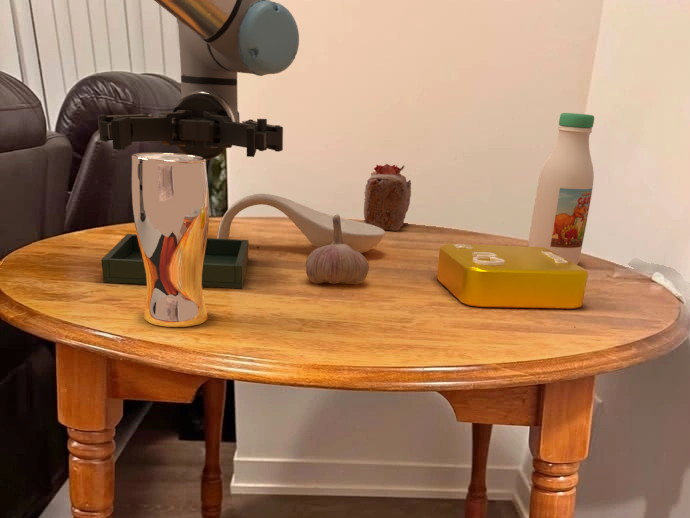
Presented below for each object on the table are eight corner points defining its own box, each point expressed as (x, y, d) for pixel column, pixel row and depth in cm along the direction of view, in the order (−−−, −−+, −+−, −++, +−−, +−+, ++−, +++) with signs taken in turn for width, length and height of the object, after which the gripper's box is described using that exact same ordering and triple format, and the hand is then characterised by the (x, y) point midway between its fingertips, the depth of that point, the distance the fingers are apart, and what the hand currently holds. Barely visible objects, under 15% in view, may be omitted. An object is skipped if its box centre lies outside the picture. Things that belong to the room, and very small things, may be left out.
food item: (364, 216, 142) (368, 158, 137) (408, 219, 142) (413, 161, 137) (360, 229, 130) (364, 166, 125) (408, 232, 130) (414, 169, 125)
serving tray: (103, 282, 88) (101, 259, 87) (128, 254, 102) (126, 233, 101) (242, 288, 90) (241, 266, 88) (248, 259, 103) (248, 239, 102)
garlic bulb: (295, 284, 93) (297, 214, 89) (320, 273, 99) (323, 207, 95) (354, 293, 91) (358, 222, 87) (376, 281, 97) (380, 215, 93)
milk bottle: (526, 265, 112) (550, 112, 103) (524, 255, 119) (547, 110, 110) (580, 270, 111) (610, 116, 102) (576, 260, 118) (603, 115, 109)
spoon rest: (380, 246, 117) (384, 196, 114) (386, 263, 107) (391, 208, 104) (222, 237, 116) (222, 186, 112) (213, 253, 105) (212, 198, 102)
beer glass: (177, 333, 73) (169, 162, 66) (124, 318, 76) (112, 153, 69) (226, 318, 78) (223, 159, 72) (175, 305, 82) (168, 151, 75)
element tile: (587, 310, 91) (596, 268, 89) (465, 307, 88) (470, 265, 86) (540, 279, 104) (547, 243, 102) (432, 276, 101) (436, 239, 99)
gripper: (301, 162, 102) (304, 183, 83) (105, 152, 99) (62, 171, 80) (302, 99, 98) (305, 106, 79) (99, 86, 96) (53, 90, 77)
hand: (183, 139), depth 80 cm, fingers open, 13 cm apart
